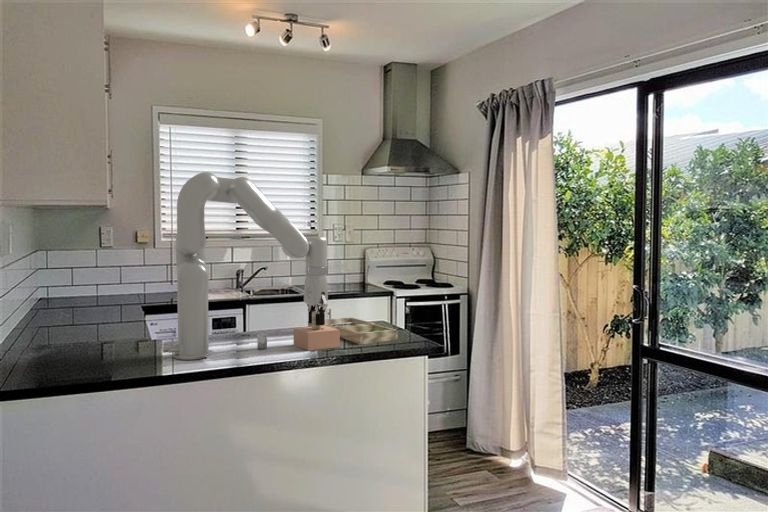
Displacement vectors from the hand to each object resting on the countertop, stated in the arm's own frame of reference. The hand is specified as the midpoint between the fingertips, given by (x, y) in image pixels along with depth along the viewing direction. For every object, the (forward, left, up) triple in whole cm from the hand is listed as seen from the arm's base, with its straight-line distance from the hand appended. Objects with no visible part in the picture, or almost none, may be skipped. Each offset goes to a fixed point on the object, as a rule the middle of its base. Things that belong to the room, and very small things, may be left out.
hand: (316, 323), depth 210 cm
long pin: (0, 0, -8) cm, 8 cm away
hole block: (0, 0, -8) cm, 8 cm away
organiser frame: (+22, +12, -8) cm, 26 cm away
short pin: (-18, +5, -8) cm, 20 cm away
